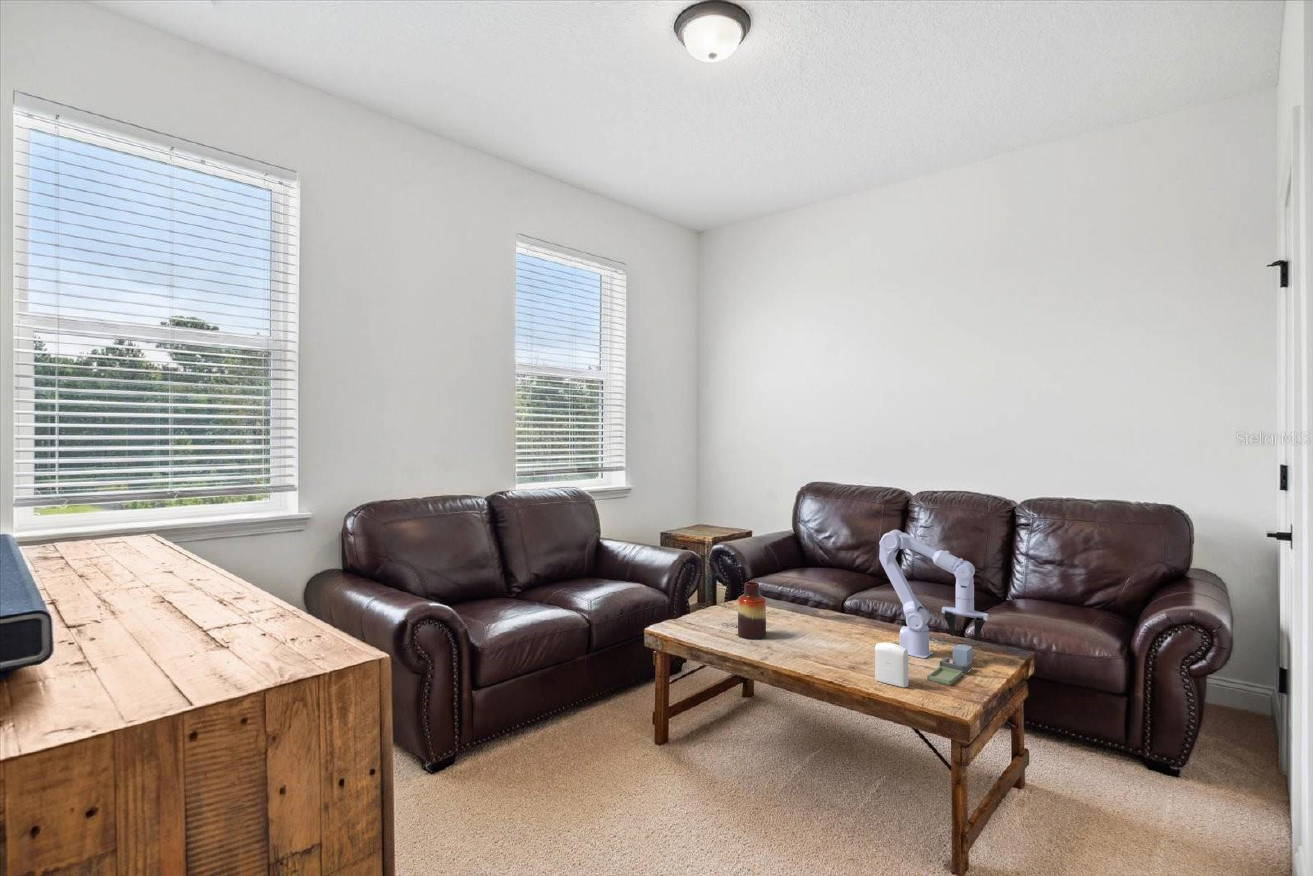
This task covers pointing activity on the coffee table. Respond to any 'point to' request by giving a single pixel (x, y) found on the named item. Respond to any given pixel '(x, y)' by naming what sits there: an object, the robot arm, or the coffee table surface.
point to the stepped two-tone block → (962, 654)
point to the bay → (955, 665)
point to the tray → (944, 675)
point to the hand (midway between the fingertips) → (964, 637)
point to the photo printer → (891, 664)
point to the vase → (751, 613)
